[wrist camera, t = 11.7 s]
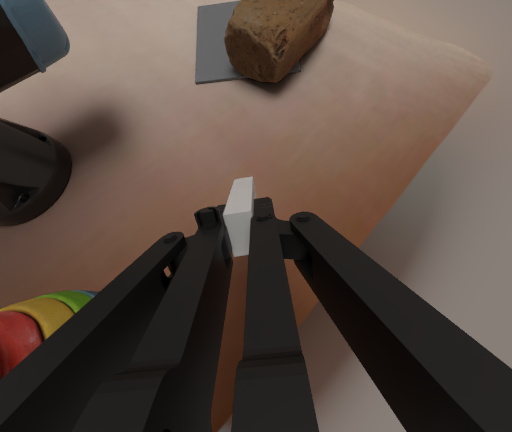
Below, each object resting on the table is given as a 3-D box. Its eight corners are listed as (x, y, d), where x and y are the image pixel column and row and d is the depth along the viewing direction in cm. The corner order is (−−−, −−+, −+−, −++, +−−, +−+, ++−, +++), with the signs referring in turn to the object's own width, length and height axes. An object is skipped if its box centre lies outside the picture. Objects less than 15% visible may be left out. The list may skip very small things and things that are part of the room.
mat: (196, 84, 34) (195, 82, 34) (198, 9, 40) (197, 6, 40) (300, 71, 33) (301, 69, 33) (287, -4, 39) (287, -7, 39)
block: (213, 15, 27) (294, -56, 31) (225, 71, 34) (290, 7, 38) (280, 41, 24) (358, -40, 29) (278, 96, 31) (341, 24, 36)
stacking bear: (111, 405, 22) (-468, 875, 5) (56, 343, 24) (-472, 511, 7) (175, 316, 24) (-66, 417, 7) (118, 267, 26) (-169, 252, 9)
